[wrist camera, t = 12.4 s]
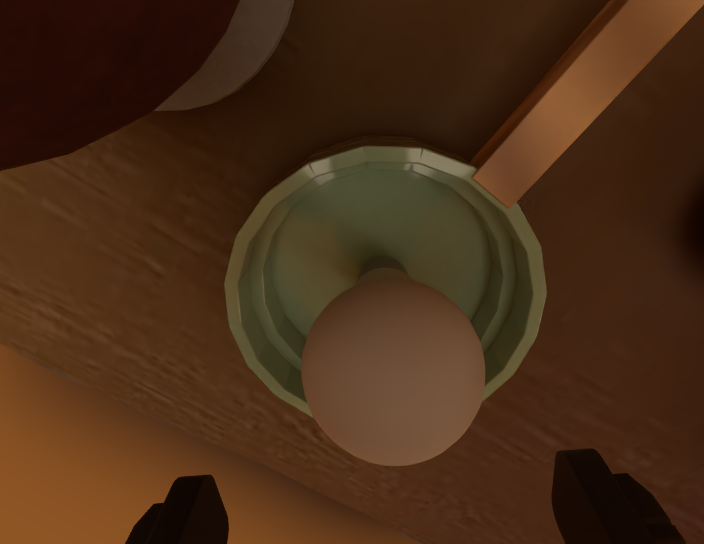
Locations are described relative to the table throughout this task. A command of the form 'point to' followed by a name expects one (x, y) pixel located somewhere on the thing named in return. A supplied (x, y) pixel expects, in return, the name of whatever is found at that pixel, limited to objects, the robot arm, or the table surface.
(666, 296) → the table surface
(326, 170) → the pan
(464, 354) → the lightbulb
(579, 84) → the pan handle
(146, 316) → the table surface
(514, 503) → the table surface
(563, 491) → the robot arm
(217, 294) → the table surface
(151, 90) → the mate gourd
